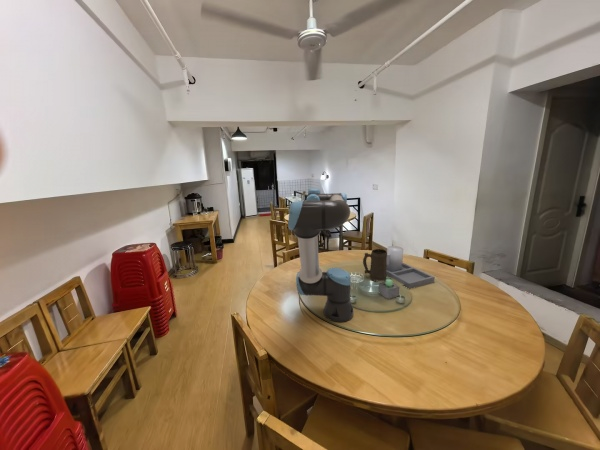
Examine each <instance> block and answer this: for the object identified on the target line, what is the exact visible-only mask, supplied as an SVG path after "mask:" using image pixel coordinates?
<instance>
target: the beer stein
mask: <svg viewBox="0 0 600 450" xmlns="http://www.w3.org/2000/svg"><path fill="white" fill-rule="evenodd" d="M368 258H370V270H369V268H368V264H367V259H368ZM362 265H363V267H364V274H365V275H366V274H369V276H370V277H369V279H370V280H371V279H372V280H371V281H373V280H375V281H377V282H382V281H386V280H385V279H386V277H387V276H388V275H387V274H386V270H387V250H385V249H382V248H381V249H380V248H376V249H372V250H371V253H368V252H365V253H364V257H363V259H362ZM375 281H374V282H375Z"/></svg>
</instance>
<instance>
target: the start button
mask: <svg viewBox="0 0 600 450" xmlns="http://www.w3.org/2000/svg"><path fill="white" fill-rule="evenodd" d="M385 282H386V285H385V286H387V287H388V288H389V287H392V286H393V283H394V279H392V278H391V279H390V278H387V279H386V280H385Z"/></svg>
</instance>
